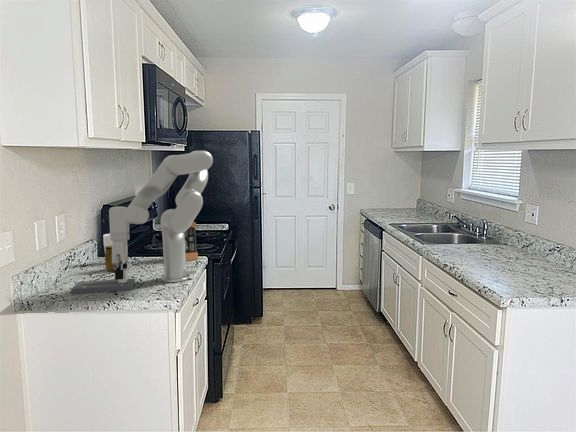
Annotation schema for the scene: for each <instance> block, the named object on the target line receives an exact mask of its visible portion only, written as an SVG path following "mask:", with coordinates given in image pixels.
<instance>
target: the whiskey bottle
mask: <svg viewBox="0 0 576 432" xmlns="http://www.w3.org/2000/svg"><path fill="white" fill-rule="evenodd" d="M196 228H197V222H195V221H193V223H192V224H191V226H190V227H189V228H188V229H187V230H186V231H185V232H184V237H185V260H186V261H196V260H199V254H198V251H197V236H196V235H197V234H196Z"/></svg>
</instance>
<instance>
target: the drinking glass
mask: <svg viewBox="0 0 576 432" xmlns="http://www.w3.org/2000/svg"><path fill="white" fill-rule="evenodd" d="M102 238H103V239H102V240H103V241H102V242H103V250H104V253H105V252H106V251H105V247H106V246H111V245H112V241H111V240H110V233H105V234H103V235H102Z"/></svg>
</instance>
